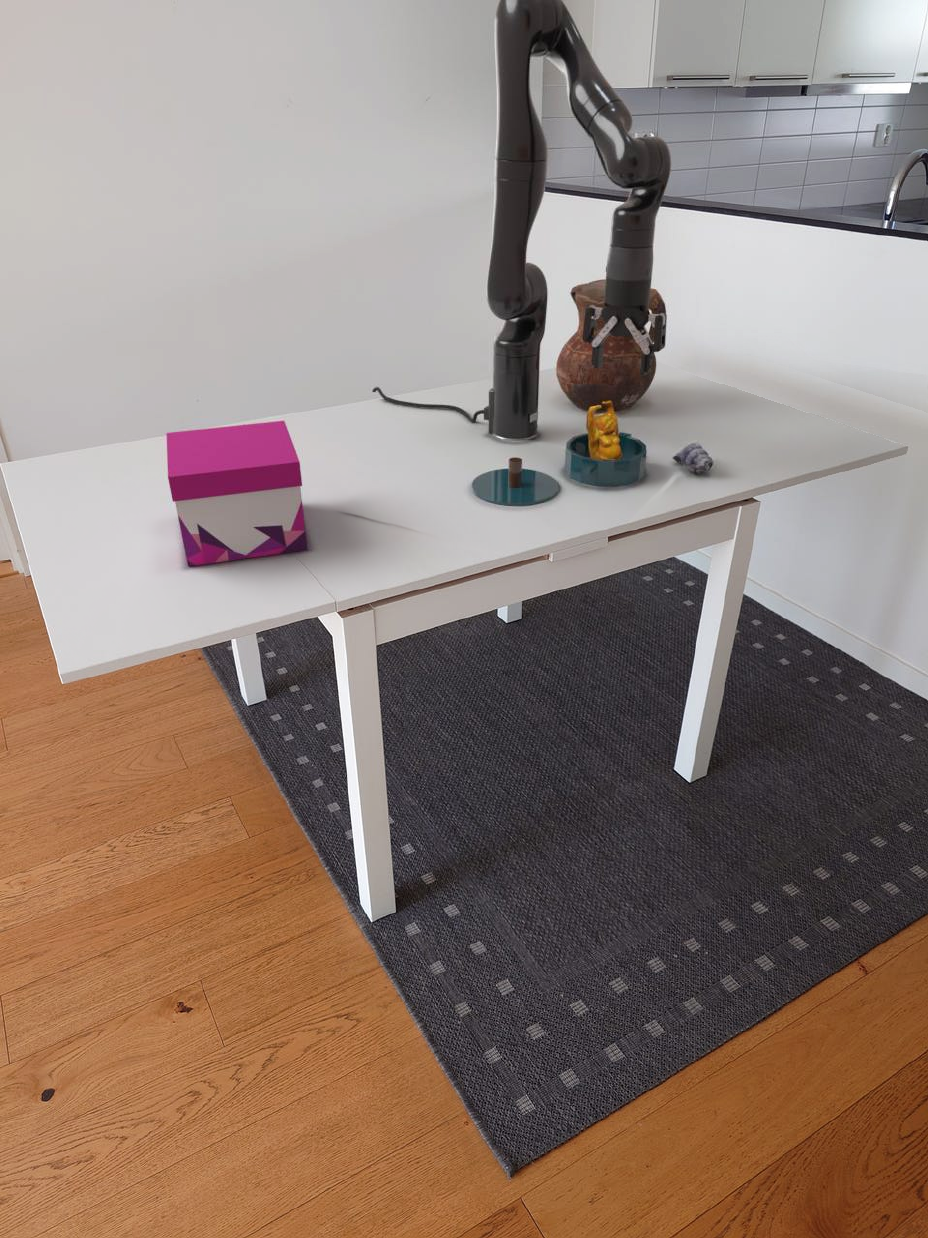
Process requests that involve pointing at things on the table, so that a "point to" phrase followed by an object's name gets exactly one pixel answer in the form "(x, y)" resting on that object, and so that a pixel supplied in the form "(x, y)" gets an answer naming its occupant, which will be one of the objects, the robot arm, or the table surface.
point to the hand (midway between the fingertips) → (620, 370)
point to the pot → (605, 462)
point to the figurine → (603, 433)
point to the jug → (604, 358)
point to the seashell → (694, 458)
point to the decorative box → (236, 492)
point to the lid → (514, 485)
